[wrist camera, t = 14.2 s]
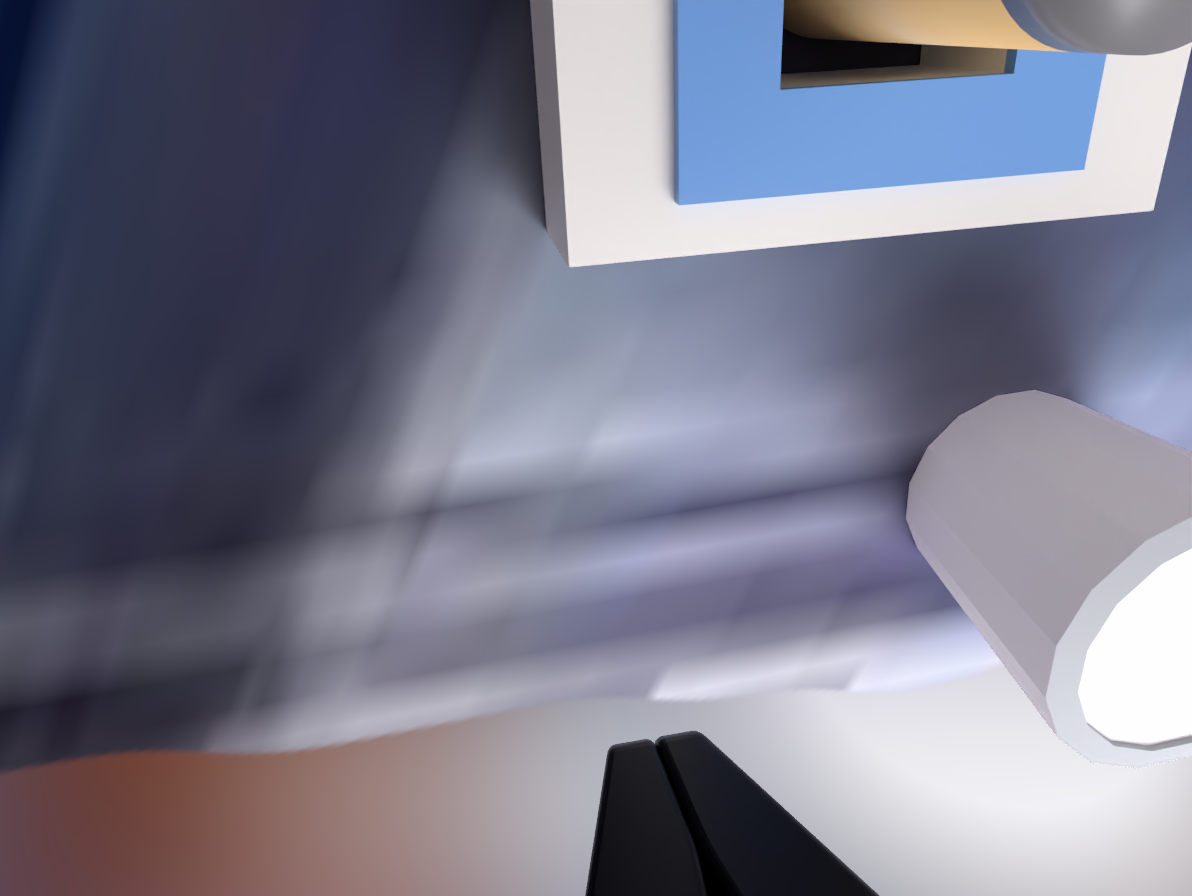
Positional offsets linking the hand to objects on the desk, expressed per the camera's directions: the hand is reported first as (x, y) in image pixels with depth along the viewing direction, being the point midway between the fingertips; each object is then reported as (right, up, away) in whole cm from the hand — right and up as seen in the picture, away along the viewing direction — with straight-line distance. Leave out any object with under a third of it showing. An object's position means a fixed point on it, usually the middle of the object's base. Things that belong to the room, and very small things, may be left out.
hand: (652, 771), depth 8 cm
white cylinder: (+11, +2, +16) cm, 20 cm away
